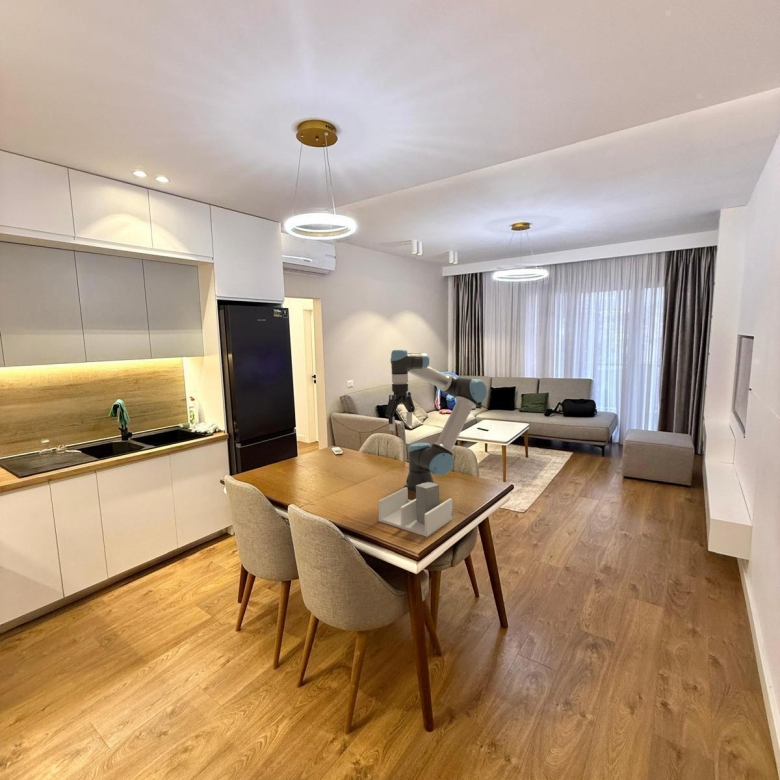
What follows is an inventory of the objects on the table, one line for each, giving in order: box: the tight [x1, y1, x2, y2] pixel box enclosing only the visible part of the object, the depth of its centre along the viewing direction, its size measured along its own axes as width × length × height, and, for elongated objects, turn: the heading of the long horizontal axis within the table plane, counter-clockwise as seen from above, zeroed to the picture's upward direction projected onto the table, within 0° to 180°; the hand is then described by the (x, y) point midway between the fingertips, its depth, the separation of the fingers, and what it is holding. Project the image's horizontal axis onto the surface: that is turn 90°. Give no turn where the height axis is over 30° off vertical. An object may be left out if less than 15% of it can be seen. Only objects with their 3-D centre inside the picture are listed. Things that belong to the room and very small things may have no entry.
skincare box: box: [415, 482, 440, 524], centre depth 172 cm, size 8×7×16 cm
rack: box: [377, 486, 453, 538], centre depth 176 cm, size 20×25×9 cm
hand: (400, 428), depth 192 cm, fingers open, 13 cm apart
